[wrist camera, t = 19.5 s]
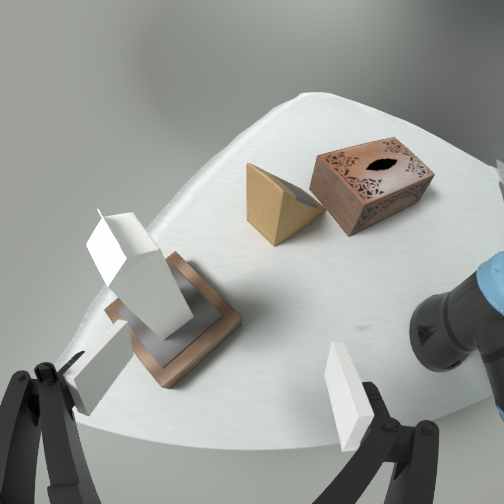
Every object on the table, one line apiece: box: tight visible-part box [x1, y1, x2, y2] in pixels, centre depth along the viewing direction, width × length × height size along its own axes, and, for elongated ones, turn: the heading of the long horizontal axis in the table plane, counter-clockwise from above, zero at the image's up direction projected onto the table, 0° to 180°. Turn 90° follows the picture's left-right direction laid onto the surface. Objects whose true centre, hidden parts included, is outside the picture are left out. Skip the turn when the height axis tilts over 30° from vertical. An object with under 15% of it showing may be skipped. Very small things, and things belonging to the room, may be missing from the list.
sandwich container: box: [247, 163, 326, 246], centre depth 50 cm, size 9×15×15 cm, turn 130°
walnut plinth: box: [104, 251, 242, 389], centre depth 42 cm, size 16×16×4 cm
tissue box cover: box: [309, 137, 435, 237], centre depth 56 cm, size 26×14×10 cm, turn 117°
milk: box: [87, 209, 194, 340], centre depth 31 cm, size 6×6×22 cm
